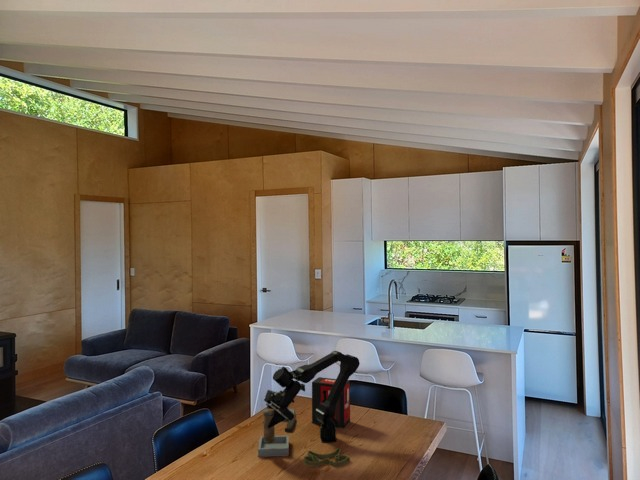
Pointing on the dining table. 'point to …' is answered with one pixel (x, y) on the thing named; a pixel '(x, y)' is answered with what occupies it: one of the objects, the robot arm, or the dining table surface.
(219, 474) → the dining table surface
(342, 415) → the cleaning product box
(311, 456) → the cookie cutter
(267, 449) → the box
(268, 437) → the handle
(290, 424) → the cleaver
